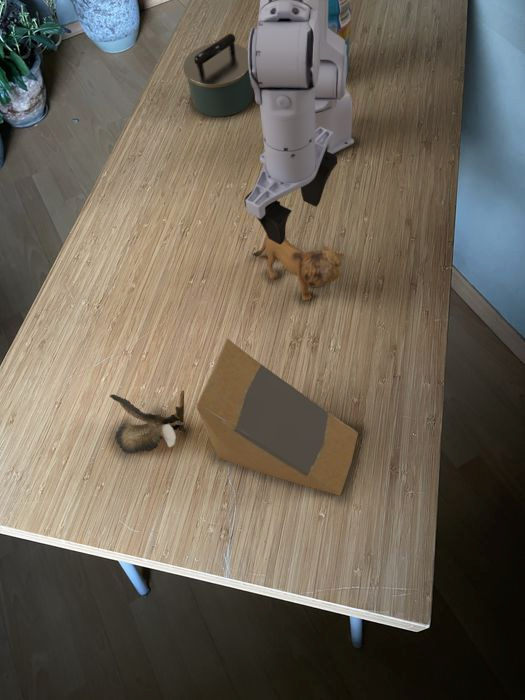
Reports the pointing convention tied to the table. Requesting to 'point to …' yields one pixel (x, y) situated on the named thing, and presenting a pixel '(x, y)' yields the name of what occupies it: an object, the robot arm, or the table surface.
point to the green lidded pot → (219, 77)
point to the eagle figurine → (148, 428)
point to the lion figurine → (303, 264)
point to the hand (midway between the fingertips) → (293, 220)
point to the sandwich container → (273, 425)
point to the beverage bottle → (340, 20)
